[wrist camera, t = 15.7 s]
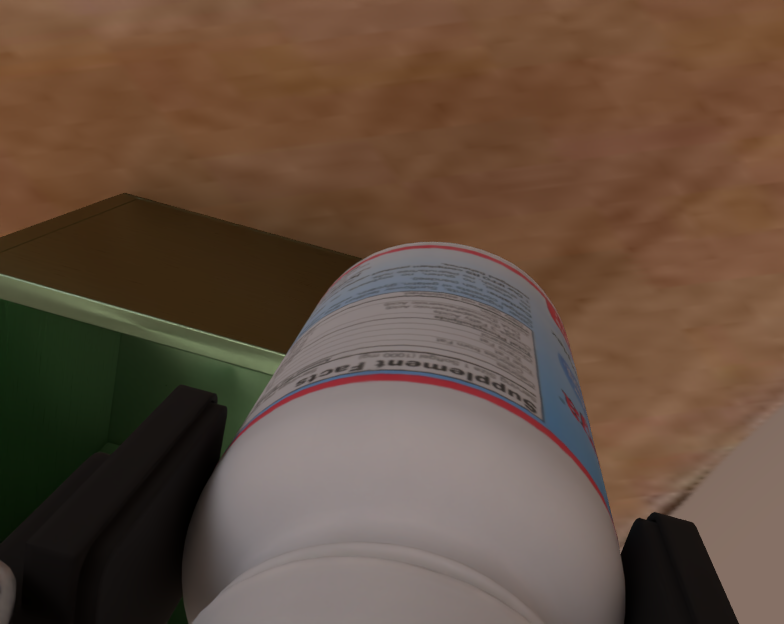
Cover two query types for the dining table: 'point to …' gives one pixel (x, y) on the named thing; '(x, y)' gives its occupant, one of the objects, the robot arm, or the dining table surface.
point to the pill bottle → (413, 463)
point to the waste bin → (137, 330)
